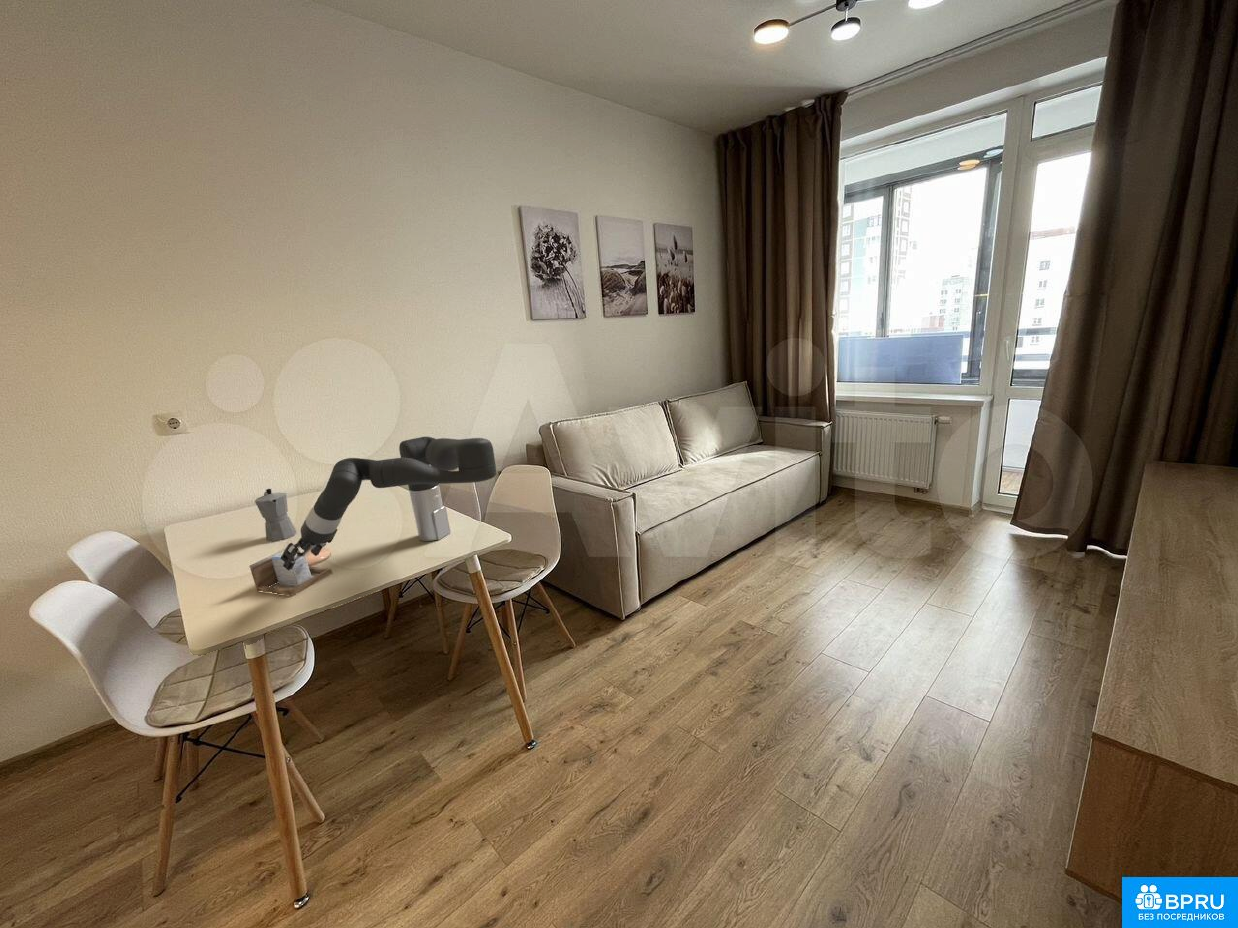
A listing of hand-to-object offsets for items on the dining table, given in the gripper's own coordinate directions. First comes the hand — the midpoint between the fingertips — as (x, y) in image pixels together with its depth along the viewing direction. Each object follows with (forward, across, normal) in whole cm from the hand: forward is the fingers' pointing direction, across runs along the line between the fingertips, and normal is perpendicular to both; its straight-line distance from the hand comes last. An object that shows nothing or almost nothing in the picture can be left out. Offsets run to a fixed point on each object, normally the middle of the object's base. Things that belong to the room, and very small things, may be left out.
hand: (301, 560), depth 138 cm
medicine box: (+11, +2, -1) cm, 11 cm away
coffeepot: (+38, +30, +27) cm, 55 cm away
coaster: (+17, +15, +6) cm, 23 cm away
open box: (+10, +2, -1) cm, 11 cm away
